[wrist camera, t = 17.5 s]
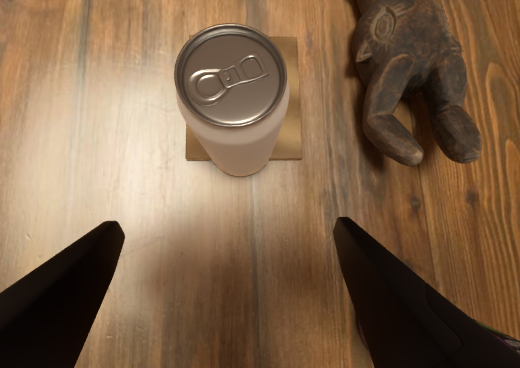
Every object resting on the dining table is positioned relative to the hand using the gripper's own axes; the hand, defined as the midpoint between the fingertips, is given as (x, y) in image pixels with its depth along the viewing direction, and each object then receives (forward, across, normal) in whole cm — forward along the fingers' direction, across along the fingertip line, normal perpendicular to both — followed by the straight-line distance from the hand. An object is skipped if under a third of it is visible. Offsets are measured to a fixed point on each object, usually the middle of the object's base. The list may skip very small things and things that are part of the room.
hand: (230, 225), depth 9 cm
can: (+14, 0, +4) cm, 15 cm away
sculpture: (+22, -17, -2) cm, 28 cm away
